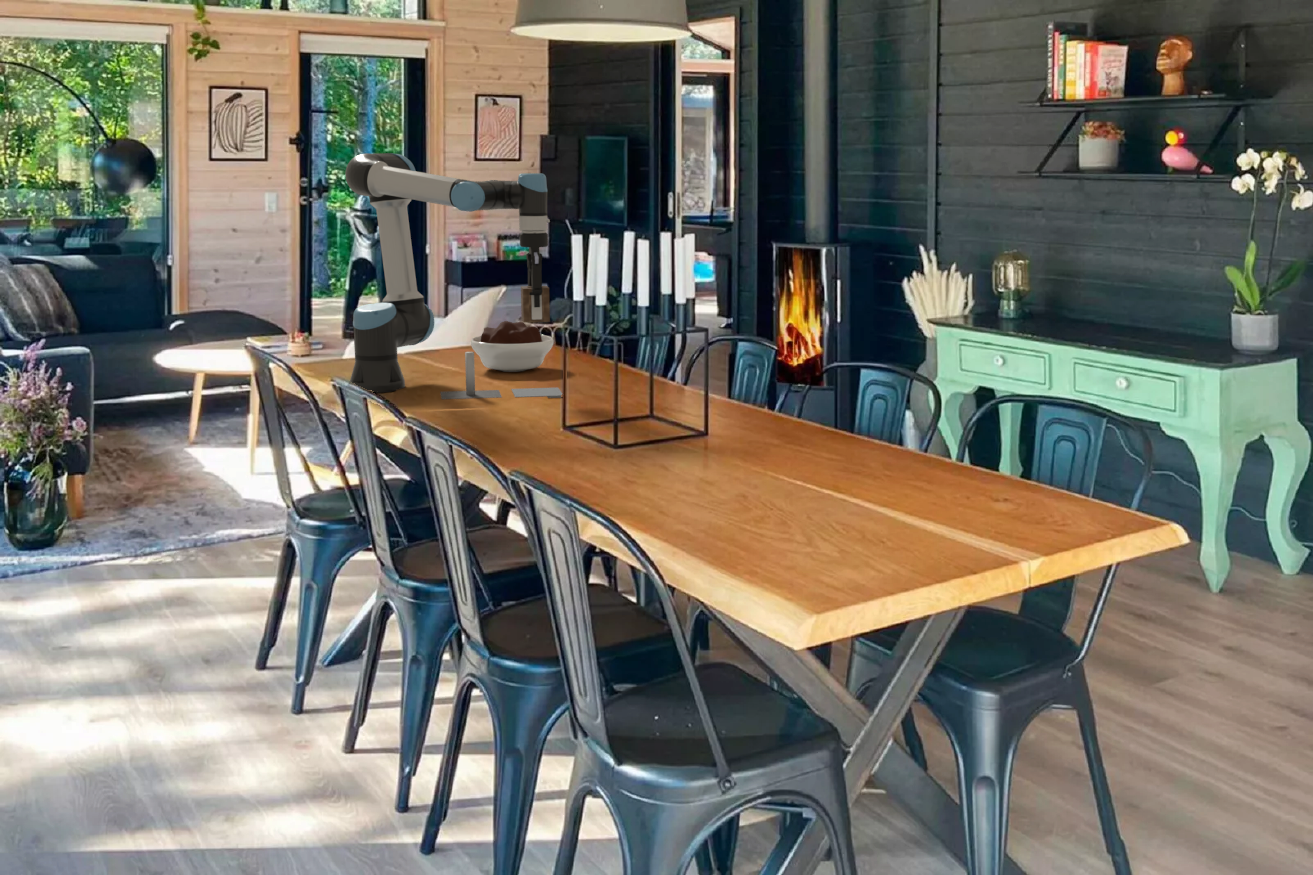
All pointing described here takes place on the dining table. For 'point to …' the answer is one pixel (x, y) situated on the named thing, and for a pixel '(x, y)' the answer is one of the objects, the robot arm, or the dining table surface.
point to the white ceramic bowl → (512, 347)
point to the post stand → (470, 384)
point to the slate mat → (537, 392)
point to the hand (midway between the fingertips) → (535, 317)
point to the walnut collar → (527, 308)
